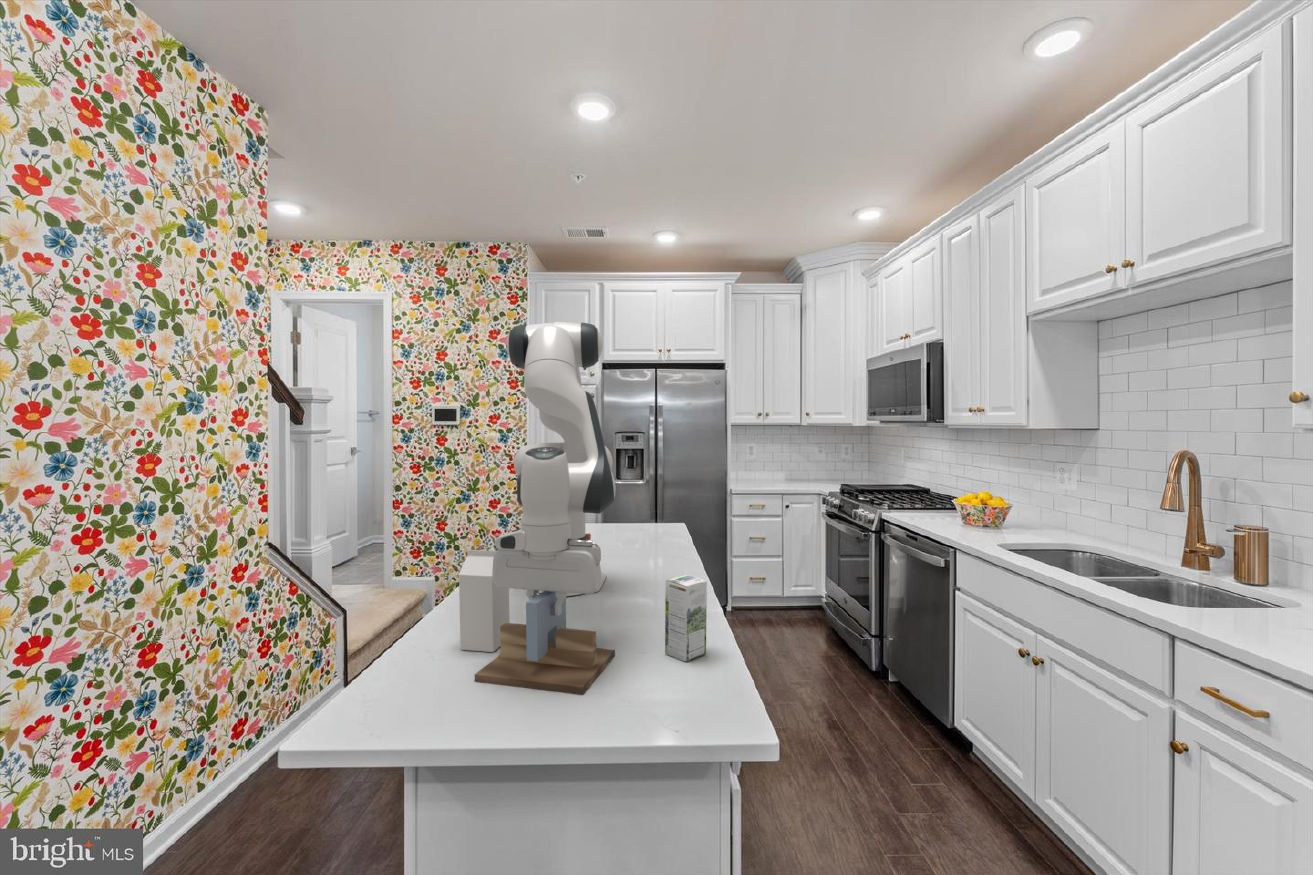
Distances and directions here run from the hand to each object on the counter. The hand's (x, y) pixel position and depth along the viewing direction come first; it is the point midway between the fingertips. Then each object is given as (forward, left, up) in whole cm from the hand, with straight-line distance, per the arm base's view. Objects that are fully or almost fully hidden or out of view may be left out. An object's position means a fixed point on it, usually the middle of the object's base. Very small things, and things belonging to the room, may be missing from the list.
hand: (547, 613), depth 105 cm
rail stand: (0, 0, -10) cm, 10 cm away
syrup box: (-12, +23, -10) cm, 28 cm away
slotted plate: (0, 0, -6) cm, 6 cm away
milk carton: (-7, -17, -10) cm, 21 cm away
